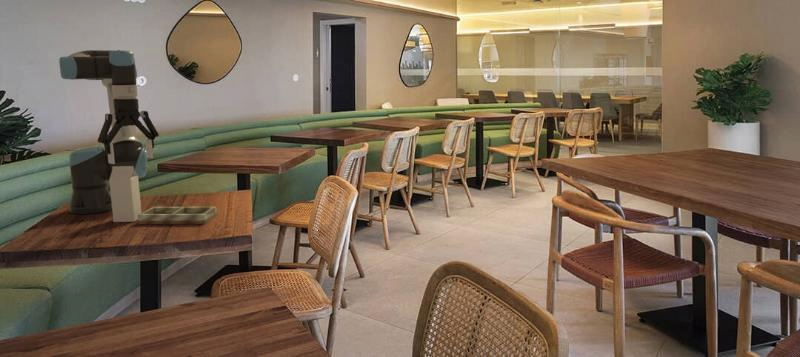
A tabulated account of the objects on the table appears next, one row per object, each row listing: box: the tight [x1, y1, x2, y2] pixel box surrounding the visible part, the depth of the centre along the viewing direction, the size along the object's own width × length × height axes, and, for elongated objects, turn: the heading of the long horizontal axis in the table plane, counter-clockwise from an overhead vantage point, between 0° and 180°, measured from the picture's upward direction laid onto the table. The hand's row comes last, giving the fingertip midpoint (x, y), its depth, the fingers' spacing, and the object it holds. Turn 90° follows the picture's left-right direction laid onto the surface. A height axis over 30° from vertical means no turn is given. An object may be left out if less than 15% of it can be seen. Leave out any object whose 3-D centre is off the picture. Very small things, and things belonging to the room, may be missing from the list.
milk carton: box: [108, 166, 142, 223], centre depth 208 cm, size 7×7×19 cm
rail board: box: [137, 206, 218, 225], centre depth 209 cm, size 23×12×3 cm, turn 88°
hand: (131, 160), depth 203 cm, fingers open, 13 cm apart
